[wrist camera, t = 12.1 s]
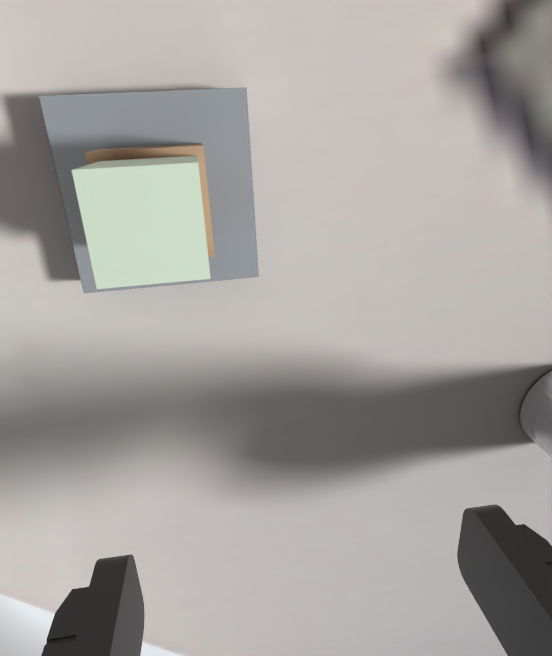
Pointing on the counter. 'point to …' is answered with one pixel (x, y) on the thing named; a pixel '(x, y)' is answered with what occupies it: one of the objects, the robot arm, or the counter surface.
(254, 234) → the slate trivet
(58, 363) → the counter surface
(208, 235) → the walnut block
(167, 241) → the sage block
